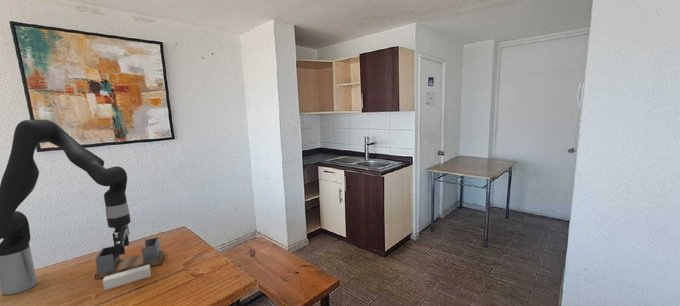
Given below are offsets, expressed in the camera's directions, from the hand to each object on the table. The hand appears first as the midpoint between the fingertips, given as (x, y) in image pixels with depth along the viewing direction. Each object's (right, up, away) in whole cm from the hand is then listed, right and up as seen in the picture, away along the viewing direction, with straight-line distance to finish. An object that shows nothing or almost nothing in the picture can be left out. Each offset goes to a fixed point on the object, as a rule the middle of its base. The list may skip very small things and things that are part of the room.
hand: (124, 249), depth 118 cm
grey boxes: (-7, -10, +14) cm, 19 cm away
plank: (-7, -12, +14) cm, 20 cm away
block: (0, -14, +2) cm, 15 cm away
